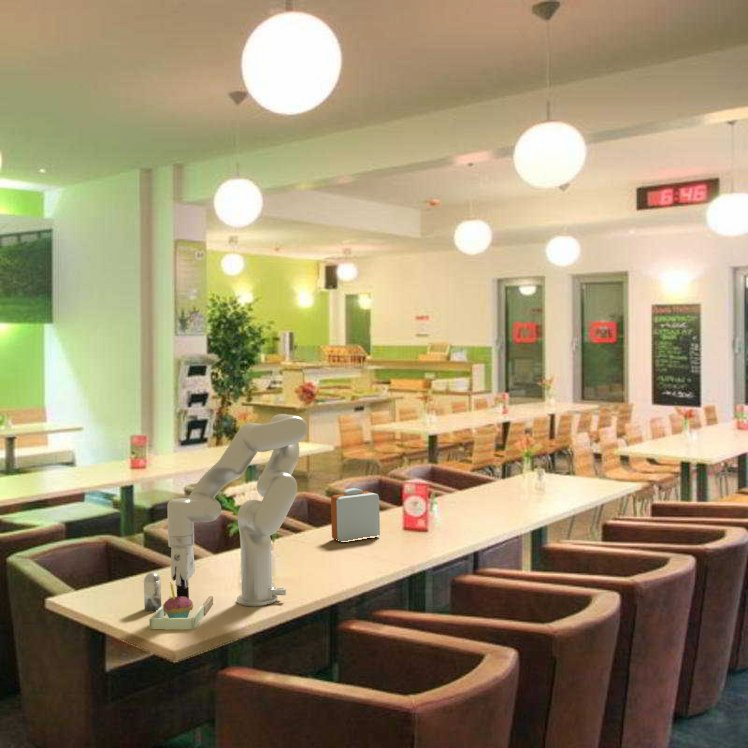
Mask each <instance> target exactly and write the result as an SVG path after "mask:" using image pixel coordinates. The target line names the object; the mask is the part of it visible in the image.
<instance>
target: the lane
mask: <svg viewBox="0 0 748 748" xmlns="http://www.w3.org/2000/svg"><path fill="white" fill-rule="evenodd" d="M170 598H173V596H169V597H168V599H167V600H169V599H170ZM163 605H164V603H163V604H161V606H163ZM202 605H204V616H206V615H207V614H208V612H209V611H210V609H212V607H213V605H214V596H213V595H211V596H210V595H209V596H208V597H207V599H205V600H204V603H203V604H202ZM166 615H167V613H166V612H164V617H165V616H166Z"/></svg>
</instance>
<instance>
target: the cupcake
mask: <svg viewBox="0 0 748 748" xmlns="http://www.w3.org/2000/svg"><path fill="white" fill-rule="evenodd" d="M169 586H170V590H171V595H172V596H171V597H173V598H170V597H169V598H170V599H169V598H168V599H169V600H168V599H167V600H165V602H164V603H163V604H164V605H163V604H162V605H163V610H164V612H166V613H167V614H166V615H167V618H189V613H191V612H190V611H192V610H193V609H194V603H193V601H192V600H191V599H190V598H189V599H188V598H187V597H185V596H184V597H183V596H180V597H177V596H176V595H175V590H174V585H173V583H172V582H171V581H170V585H169Z"/></svg>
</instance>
